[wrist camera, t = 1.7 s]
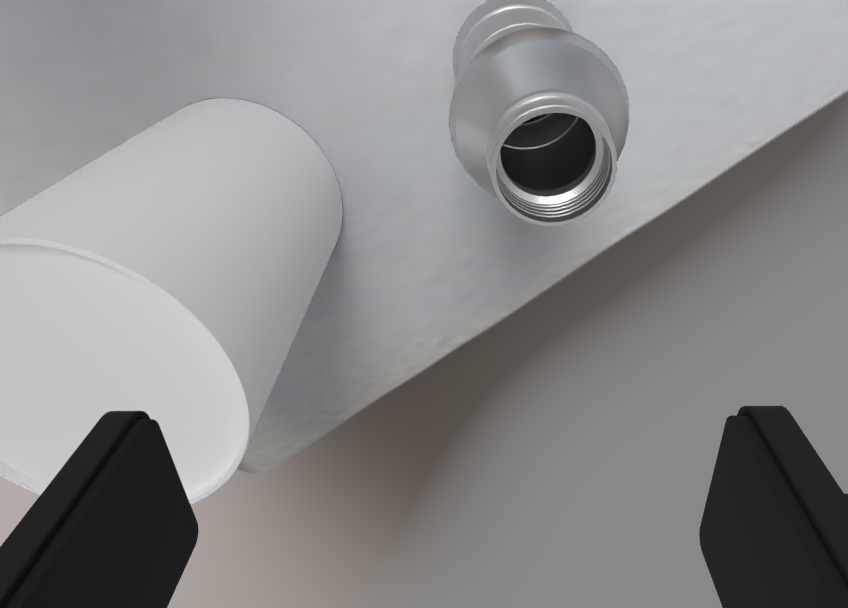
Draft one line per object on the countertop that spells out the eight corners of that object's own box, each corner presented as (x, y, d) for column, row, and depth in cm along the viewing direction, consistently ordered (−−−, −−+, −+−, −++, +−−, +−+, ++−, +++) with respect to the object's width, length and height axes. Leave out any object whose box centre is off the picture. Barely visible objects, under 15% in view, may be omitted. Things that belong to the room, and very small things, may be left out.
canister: (291, 68, 36) (128, 190, 19) (371, 263, 42) (304, 485, 25) (101, 135, 39) (-189, 292, 22) (203, 308, 45) (41, 534, 28)
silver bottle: (495, -37, 32) (522, -5, 15) (596, 34, 34) (723, 137, 17) (432, 71, 35) (396, 199, 18) (527, 132, 37) (575, 303, 20)
